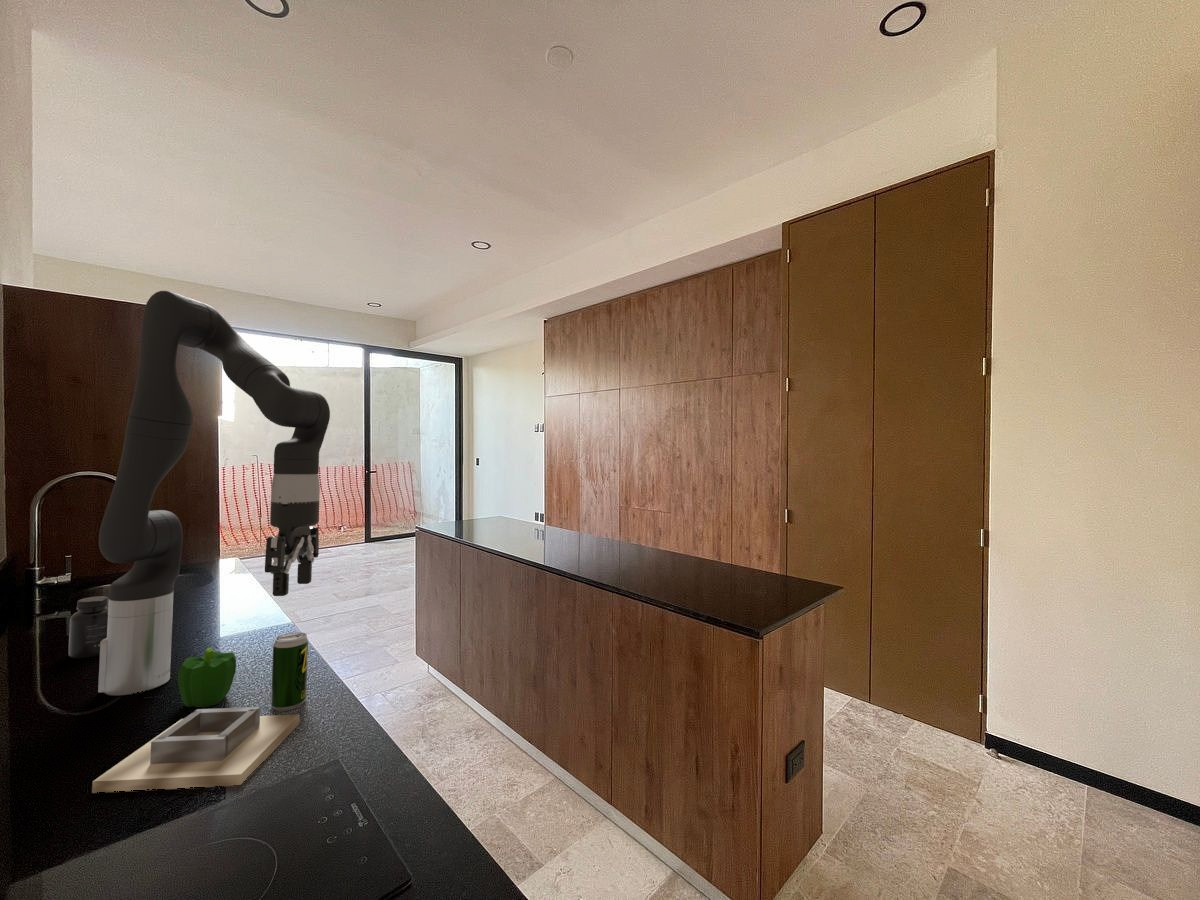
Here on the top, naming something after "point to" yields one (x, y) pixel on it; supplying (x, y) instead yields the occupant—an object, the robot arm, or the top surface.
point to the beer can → (289, 671)
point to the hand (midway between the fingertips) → (292, 589)
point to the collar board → (201, 751)
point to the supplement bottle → (88, 627)
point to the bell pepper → (206, 678)
